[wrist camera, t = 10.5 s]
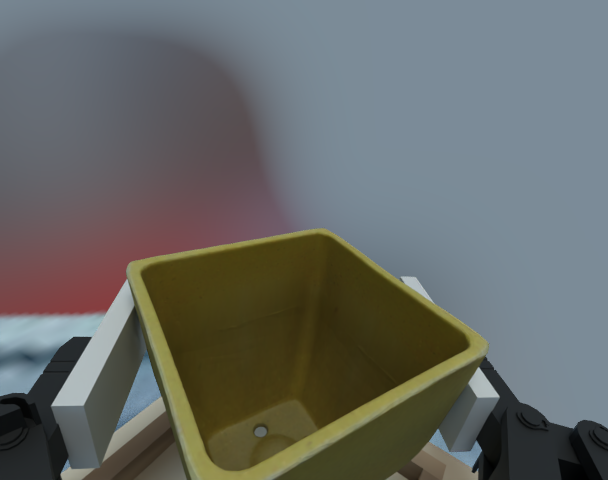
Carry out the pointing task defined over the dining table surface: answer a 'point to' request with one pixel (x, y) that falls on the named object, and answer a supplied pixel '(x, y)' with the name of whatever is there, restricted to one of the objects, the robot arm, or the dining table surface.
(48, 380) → the robot arm
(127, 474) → the birch tray
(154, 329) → the flower pot
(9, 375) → the dining table surface
